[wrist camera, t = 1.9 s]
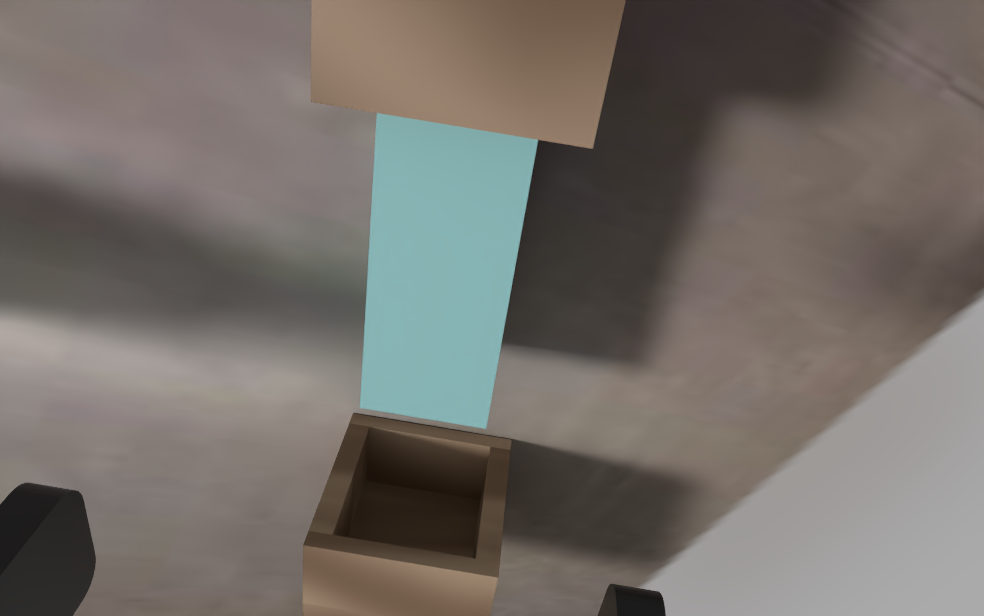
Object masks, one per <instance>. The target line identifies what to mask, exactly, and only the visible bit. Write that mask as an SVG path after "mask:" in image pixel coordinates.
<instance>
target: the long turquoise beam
mask: <svg viewBox="0 0 984 616" xmlns="http://www.w3.org/2000/svg"><path fill="white" fill-rule="evenodd" d="M537 143H538V140H537V139H531V138H525V137H519V136H513V135H507V134H501V133H495V132H489V131H483V130H477V129H471V128H465V127H459V126H453V125H447V124H441V123H435V122H429V121H423V120H417V119H411V118H404V117H398V116H392V115H386V114H380V113H377V121H376V138H375V156H374V173H373V190H372V207H371V225H370V242H369V259H368V277H367V294H366V311H365V328H364V346H363V363H362V380H361V398H360V408H364V409H370V410H376V411H382V412H388V413H394V414H400V415H406V416H412V417H418V418H424V419H430V420H436V421H442V422H448V423H454V424H460V425H466V426H472V427H478V428H484V429H486V426H487V421H488V415H489V410H490V404H491V399H492V393H493V387H494V382H495V376H496V371H497V365H498V360H499V354H500V349H501V343H502V338H503V332H504V326H505V321H506V315H507V310H508V304H509V299H510V293H511V288H512V282H513V277H514V271H515V265H516V260H517V254H518V249H519V243H520V238H521V232H522V227H523V221H524V216H525V210H526V204H527V199H528V193H529V188H530V182H531V177H532V171H533V166H534V160H535V155H536V149H537Z"/></svg>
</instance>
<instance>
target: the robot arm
mask: <svg viewBox="0 0 984 616" xmlns="http://www.w3.org/2000/svg"><path fill="white" fill-rule="evenodd" d="M95 563H96V557H95V551H94V546H93V542H92V537H91V532H90V528H89V523H88V518H87V514H86V509H85V504H84V500H83V497H82V495H81V493H80V492H78V491H75V490H69V489H63V488H57V487H51V486H46V485H40V484H34V483H24V484H21V485H19V486H18V487H16V488H15V489H14V490H13V491H12V492H11V493H10V494H9V495H8V496H7V497H6V499H5V500H4V501H3V502H2V503H1V504H0V616H73V614H74V613H75V611H76V610H77V608H78V607H79V605H80V604H81V602H82V600H83V599H84V597H85V595H86V593H87V591H88V589H89V587H90V584H91V581H92V578H93V575H94V570H95ZM598 616H665V607H664V601H663V597H662V595H661V593H660V592H657V591H651V590H646V589H640V588H634V587H628V586H622V585H616V584H610V585H609V587H608V589H607V591H606V594H605V597H604V600H603V602H602V605H601V608H600V611H599V614H598Z"/></svg>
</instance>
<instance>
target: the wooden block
mask: <svg viewBox="0 0 984 616" xmlns="http://www.w3.org/2000/svg"><path fill="white" fill-rule="evenodd" d="M625 2H626V0H312V28H311V102H314V103H320V104H326V105H332V106H338V107H344V108H350V109H356V110H362V111H368V112H374V113H380V114H386V115H392V116H398V117H404V118H411V119H417V120H423V121H429V122H435V123H441V124H447V125H453V126H459V127H465V128H471V129H477V130H483V131H489V132H495V133H501V134H507V135H513V136H519V137H525V138H531V139H537V140H543V141H549V142H555V143H561V144H567V145H573V146H579V147H585V148H591V149H593V145H594V141H595V136H596V132H597V127H598V123H599V118H600V114H601V109H602V105H603V100H604V96H605V91H606V87H607V82H608V78H609V73H610V69H611V64H612V60H613V55H614V51H615V46H616V42H617V37H618V33H619V29H620V24H621V20H622V15H623V11H624V6H625Z"/></svg>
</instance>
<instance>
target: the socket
mask: <svg viewBox="0 0 984 616" xmlns="http://www.w3.org/2000/svg"><path fill="white" fill-rule="evenodd" d="M511 441H512V440H511V439H505V438H499V437H492V436H486V435H480V434H474V433H468V432H462V431H456V430H450V429H444V428H438V427H432V426H426V425H420V424H414V423H408V422H402V421H396V420H390V419H384V418H378V417H372V416H366V415H360V414H354V413H353V415H352V418H351V421H350V423H349V426H348V428H347V431H346V434H345V436H344V439H343V442H342V444H341V447H340V450H339V452H338V455H337V457H336V460H335V463H334V465H333V468H332V471H331V473H330V476H329V479H328V481H327V484H326V487H325V489H324V492H323V494H322V497H321V500H320V502H319V505H318V508H317V510H316V513H315V516H314V518H313V521H312V524H311V526H310V529H309V531H308V534H307V537H306V539H305V542H304V545H303V616H490V613H491V608H492V604H493V599H494V595H495V590H496V586H497V582H498V576H499V566H500V555H501V545H502V535H503V524H504V514H505V504H506V493H507V483H508V472H509V462H510V452H511Z"/></svg>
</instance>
